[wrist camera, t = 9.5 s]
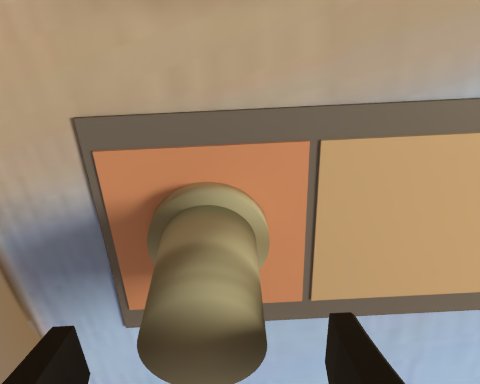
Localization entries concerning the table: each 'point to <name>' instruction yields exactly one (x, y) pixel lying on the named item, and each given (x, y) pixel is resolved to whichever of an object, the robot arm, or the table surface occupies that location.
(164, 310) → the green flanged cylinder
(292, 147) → the game board
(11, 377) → the robot arm
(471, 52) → the table surface
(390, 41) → the table surface
